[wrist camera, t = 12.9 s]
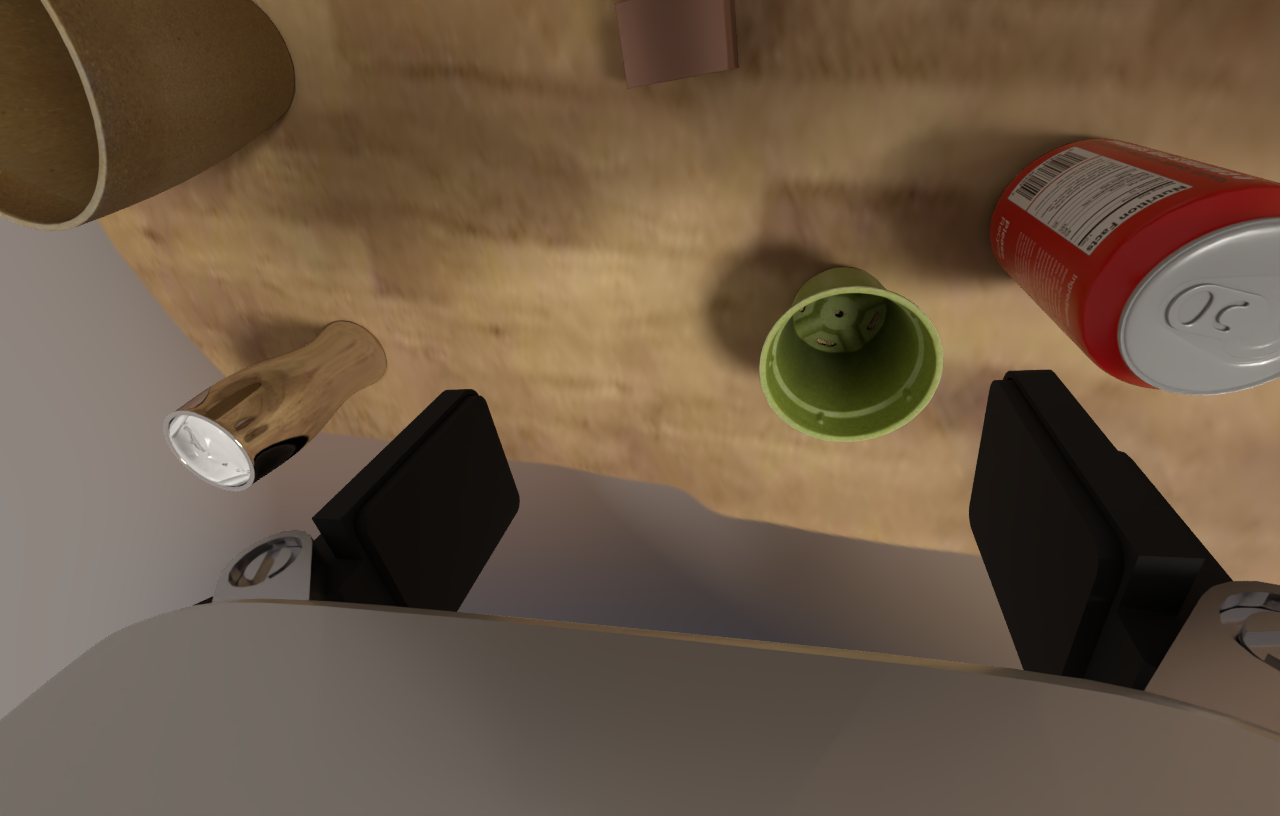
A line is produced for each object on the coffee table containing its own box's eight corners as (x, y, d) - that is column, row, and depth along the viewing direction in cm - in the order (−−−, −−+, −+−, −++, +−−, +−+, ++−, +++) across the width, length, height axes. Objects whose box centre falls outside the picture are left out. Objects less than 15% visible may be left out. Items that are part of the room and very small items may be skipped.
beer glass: (388, 327, 47) (242, 425, 34) (395, 395, 51) (266, 506, 38) (313, 306, 47) (144, 396, 35) (325, 375, 51) (177, 477, 39)
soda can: (1029, 122, 30) (1195, 172, 17) (1186, 151, 29) (1480, 226, 16) (959, 263, 34) (1052, 383, 22) (1094, 293, 33) (1271, 435, 21)
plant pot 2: (749, 354, 40) (740, 418, 33) (789, 224, 35) (787, 268, 28) (879, 386, 39) (898, 460, 32) (940, 258, 34) (978, 312, 27)
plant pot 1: (318, -76, 32) (-7, -164, 19) (361, 190, 41) (153, 256, 27) (103, -103, 34) (-329, -200, 21) (185, 157, 42) (-87, 203, 29)
